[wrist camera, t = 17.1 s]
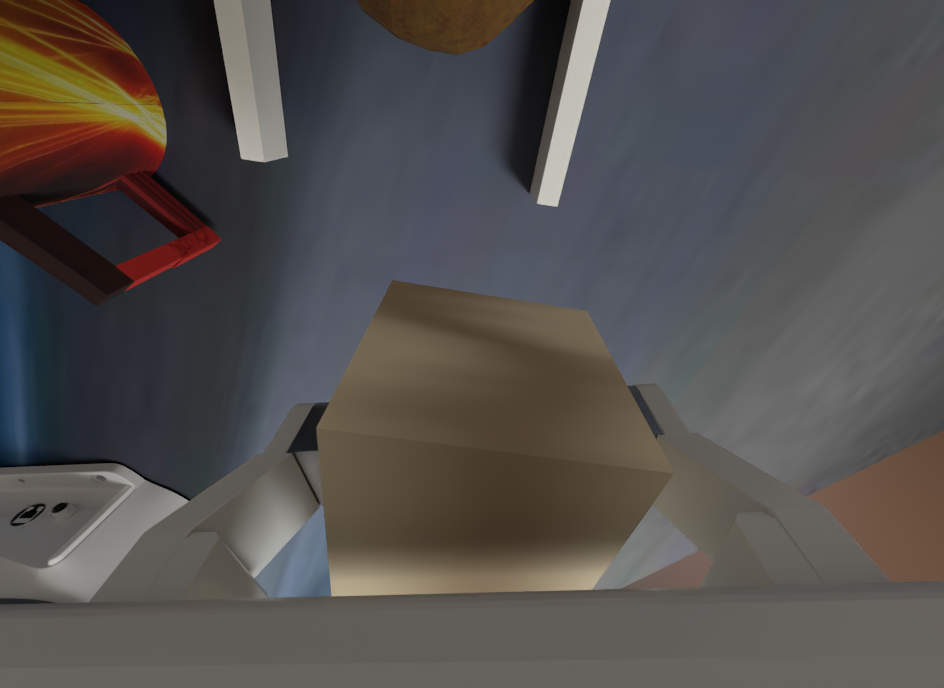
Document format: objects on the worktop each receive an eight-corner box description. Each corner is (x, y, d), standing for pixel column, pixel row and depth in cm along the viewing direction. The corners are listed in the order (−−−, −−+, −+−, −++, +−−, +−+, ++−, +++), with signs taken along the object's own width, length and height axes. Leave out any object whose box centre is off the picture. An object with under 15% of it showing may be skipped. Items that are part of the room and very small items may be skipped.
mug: (229, 245, 25) (67, 335, 15) (-18, 139, 22) (-449, 163, 11) (254, 93, 20) (45, 75, 10) (-54, -73, 17) (-827, -346, 7)
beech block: (385, 424, 12) (332, 600, 7) (392, 280, 9) (316, 428, 5) (536, 444, 12) (567, 622, 8) (586, 311, 9) (674, 473, 5)
